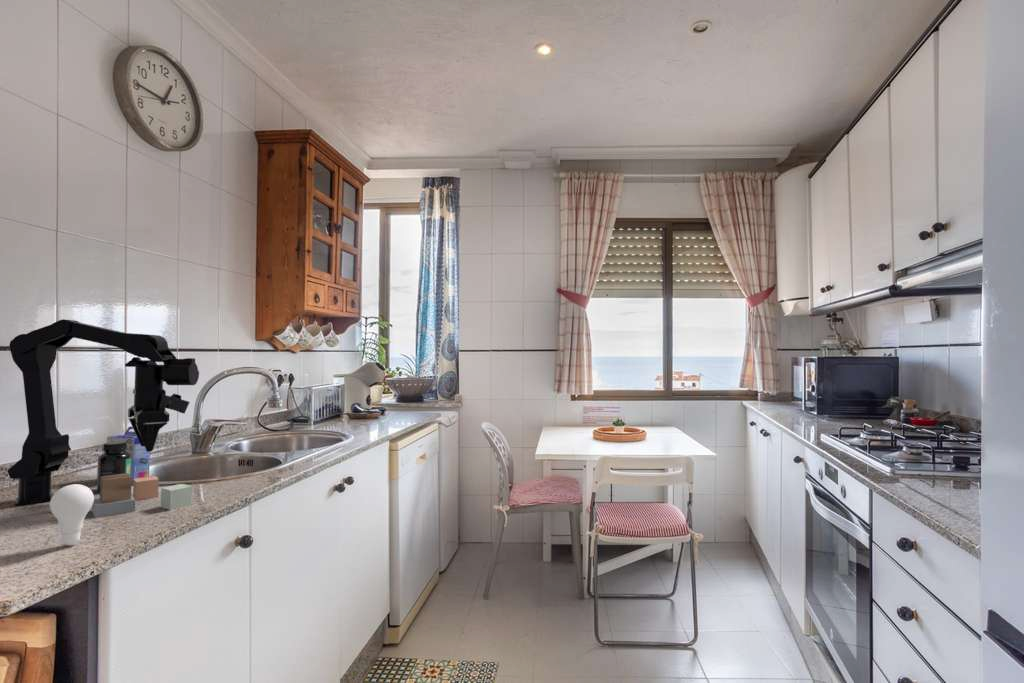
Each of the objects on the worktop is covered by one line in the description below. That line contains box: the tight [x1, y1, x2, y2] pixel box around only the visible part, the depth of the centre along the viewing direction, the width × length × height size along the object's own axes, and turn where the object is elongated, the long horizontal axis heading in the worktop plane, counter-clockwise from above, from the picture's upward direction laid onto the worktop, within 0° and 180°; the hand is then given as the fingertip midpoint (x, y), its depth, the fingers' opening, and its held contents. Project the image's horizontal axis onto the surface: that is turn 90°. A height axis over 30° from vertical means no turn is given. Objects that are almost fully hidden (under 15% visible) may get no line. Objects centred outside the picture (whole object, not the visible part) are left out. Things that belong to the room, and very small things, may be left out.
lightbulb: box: [49, 483, 95, 547], centre depth 93 cm, size 6×6×11 cm
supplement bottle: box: [96, 441, 131, 493], centre depth 132 cm, size 7×7×12 cm
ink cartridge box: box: [106, 426, 151, 483], centre depth 143 cm, size 10×6×14 cm, turn 78°
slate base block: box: [91, 493, 136, 519], centre depth 114 cm, size 7×7×3 cm
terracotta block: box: [132, 475, 160, 501], centre depth 125 cm, size 4×4×4 cm
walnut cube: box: [99, 473, 132, 503], centre depth 114 cm, size 5×5×5 cm
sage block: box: [160, 483, 193, 511], centre depth 118 cm, size 4×4×4 cm
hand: (146, 448), depth 125 cm, fingers open, 9 cm apart
